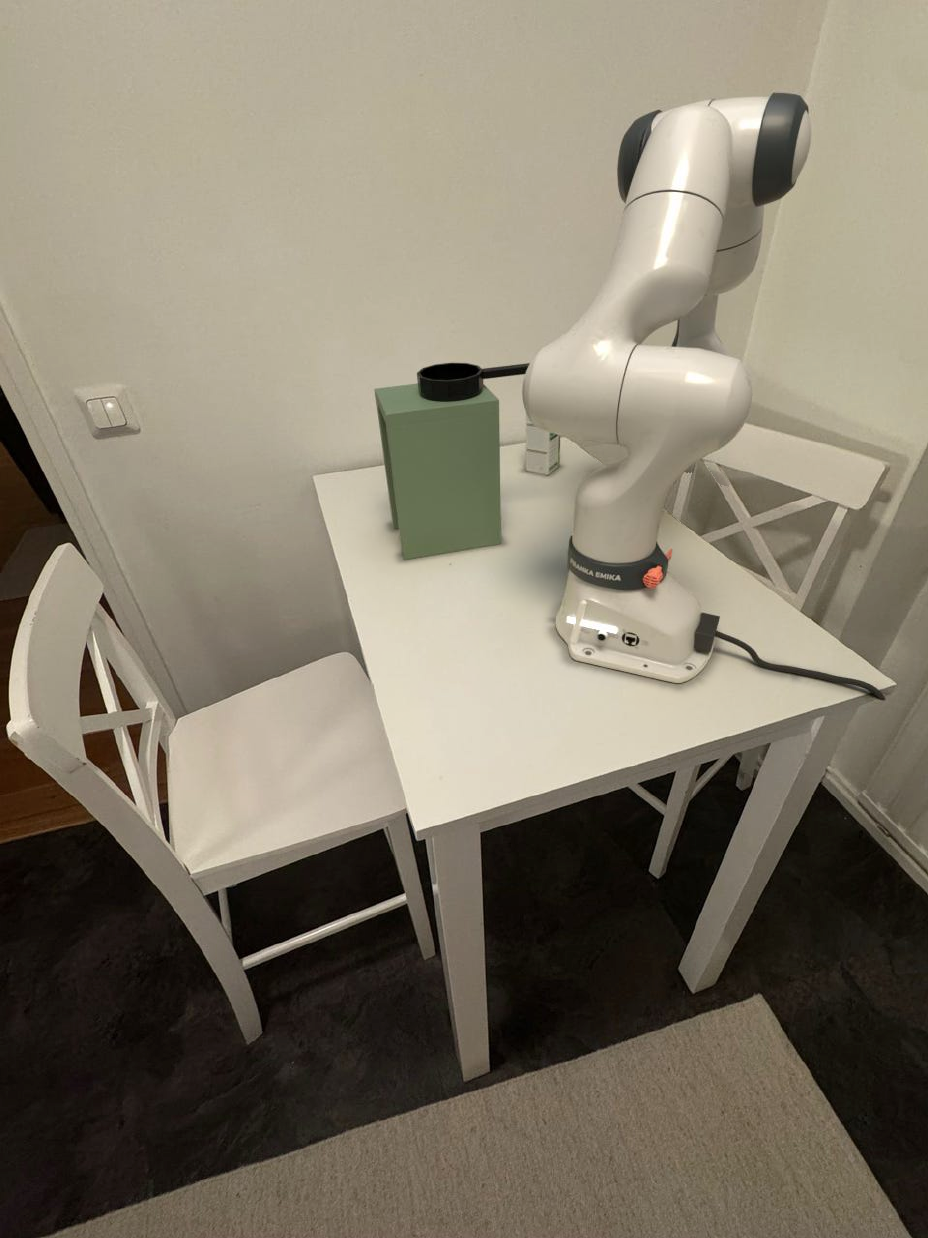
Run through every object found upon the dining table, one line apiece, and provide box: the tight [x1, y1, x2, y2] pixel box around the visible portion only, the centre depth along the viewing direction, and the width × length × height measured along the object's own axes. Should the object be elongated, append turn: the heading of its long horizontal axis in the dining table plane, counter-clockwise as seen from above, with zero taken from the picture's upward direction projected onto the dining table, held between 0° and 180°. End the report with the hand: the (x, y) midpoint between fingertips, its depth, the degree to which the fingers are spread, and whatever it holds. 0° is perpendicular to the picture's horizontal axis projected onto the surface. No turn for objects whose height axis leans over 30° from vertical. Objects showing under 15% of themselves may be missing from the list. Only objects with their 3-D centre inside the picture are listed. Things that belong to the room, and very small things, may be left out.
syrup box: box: [525, 412, 561, 476], centre depth 132 cm, size 6×6×14 cm
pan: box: [416, 362, 531, 402], centre depth 99 cm, size 26×10×3 cm, turn 104°
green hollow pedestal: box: [373, 382, 502, 561], centre depth 107 cm, size 18×14×26 cm
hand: (585, 376), depth 103 cm, fingers open, 8 cm apart
